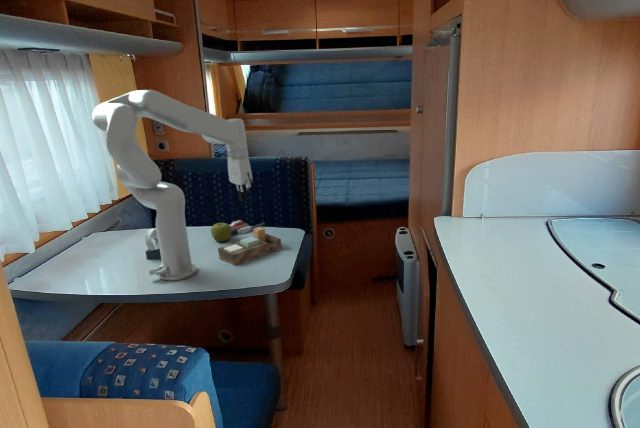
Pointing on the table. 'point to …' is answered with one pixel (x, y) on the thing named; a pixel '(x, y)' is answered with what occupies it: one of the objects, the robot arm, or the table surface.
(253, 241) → the button
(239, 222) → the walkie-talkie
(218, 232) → the apple
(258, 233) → the slider
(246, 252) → the brown wooden tray
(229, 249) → the button
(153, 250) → the white sculpture
